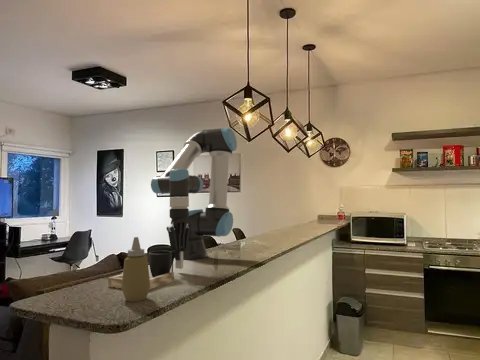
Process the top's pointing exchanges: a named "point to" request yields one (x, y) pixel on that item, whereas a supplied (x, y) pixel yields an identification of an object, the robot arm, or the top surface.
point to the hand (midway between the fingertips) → (179, 268)
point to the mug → (160, 262)
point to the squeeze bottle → (135, 274)
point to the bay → (154, 282)
